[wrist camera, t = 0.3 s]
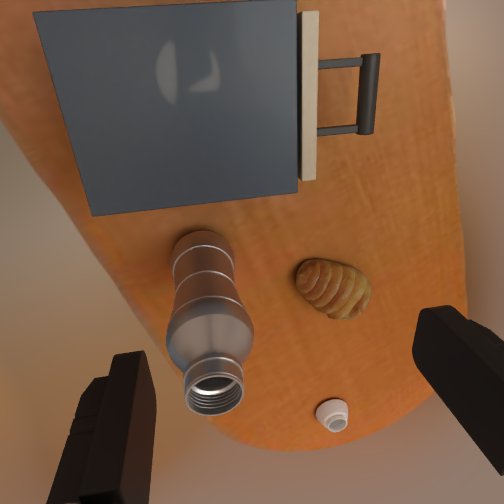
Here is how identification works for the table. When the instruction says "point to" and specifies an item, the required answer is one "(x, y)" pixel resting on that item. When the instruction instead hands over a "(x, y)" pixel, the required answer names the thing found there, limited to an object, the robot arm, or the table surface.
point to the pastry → (333, 288)
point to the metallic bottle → (208, 324)
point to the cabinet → (177, 100)
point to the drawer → (309, 90)
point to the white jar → (333, 414)
